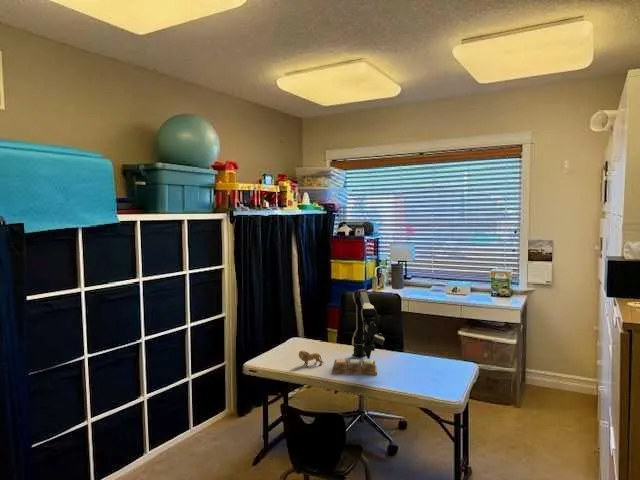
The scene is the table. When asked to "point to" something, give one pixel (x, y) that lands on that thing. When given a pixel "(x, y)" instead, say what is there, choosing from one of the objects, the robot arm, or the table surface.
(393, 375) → the table surface
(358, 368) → the button board
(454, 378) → the table surface
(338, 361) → the three-pip button
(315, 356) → the lion figurine
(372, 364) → the button
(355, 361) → the button
